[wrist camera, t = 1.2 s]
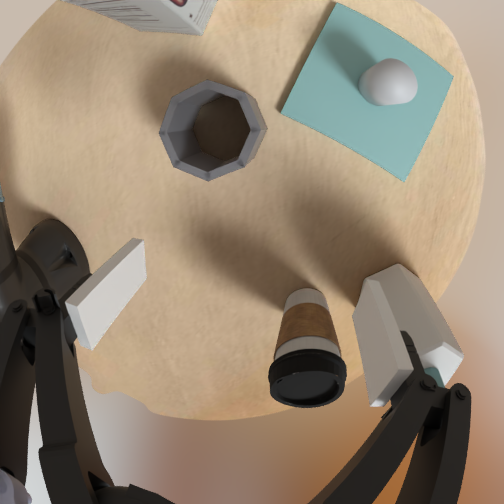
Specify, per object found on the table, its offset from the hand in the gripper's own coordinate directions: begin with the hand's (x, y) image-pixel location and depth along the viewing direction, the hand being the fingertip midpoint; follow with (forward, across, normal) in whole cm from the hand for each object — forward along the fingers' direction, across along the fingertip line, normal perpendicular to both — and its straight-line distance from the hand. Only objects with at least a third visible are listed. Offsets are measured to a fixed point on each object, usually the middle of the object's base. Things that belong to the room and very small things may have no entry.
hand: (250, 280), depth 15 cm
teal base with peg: (+18, +10, +15) cm, 25 cm away
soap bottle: (+18, +19, -11) cm, 28 cm away
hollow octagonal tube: (+18, -6, +7) cm, 20 cm away
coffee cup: (+18, +7, -14) cm, 24 cm away
